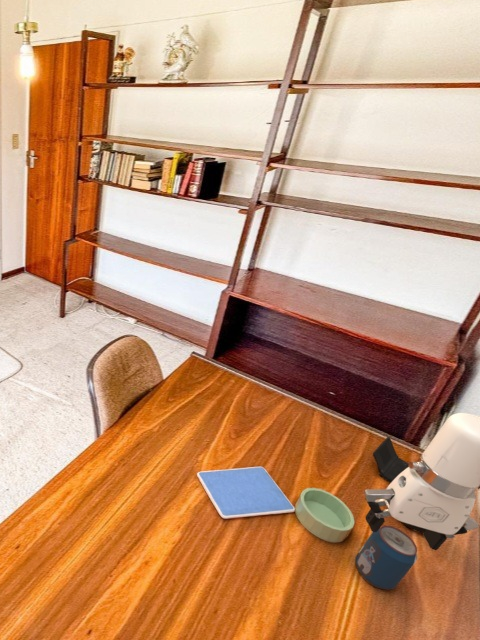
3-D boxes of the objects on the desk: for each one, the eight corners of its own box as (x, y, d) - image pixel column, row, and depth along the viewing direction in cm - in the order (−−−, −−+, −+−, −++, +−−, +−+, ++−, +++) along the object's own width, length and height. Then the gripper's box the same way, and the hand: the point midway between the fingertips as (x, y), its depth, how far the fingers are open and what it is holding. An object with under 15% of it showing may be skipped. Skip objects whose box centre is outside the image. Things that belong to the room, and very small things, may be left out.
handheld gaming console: (421, 493, 99) (404, 454, 101) (384, 491, 104) (368, 453, 106) (423, 472, 107) (408, 436, 108) (389, 471, 112) (375, 436, 113)
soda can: (400, 581, 83) (427, 546, 77) (385, 600, 79) (413, 565, 74) (361, 550, 88) (385, 516, 83) (346, 567, 85) (369, 532, 79)
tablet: (261, 468, 106) (263, 465, 106) (296, 513, 95) (297, 509, 95) (194, 474, 104) (195, 471, 104) (221, 521, 93) (223, 517, 92)
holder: (351, 522, 94) (359, 510, 92) (340, 552, 87) (348, 540, 85) (302, 491, 101) (308, 480, 99) (288, 517, 94) (294, 505, 92)
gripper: (397, 478, 69) (355, 536, 77) (522, 511, 65) (465, 570, 72) (377, 445, 76) (341, 502, 83) (491, 473, 71) (441, 531, 79)
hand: (399, 533), depth 78 cm, fingers open, 9 cm apart
